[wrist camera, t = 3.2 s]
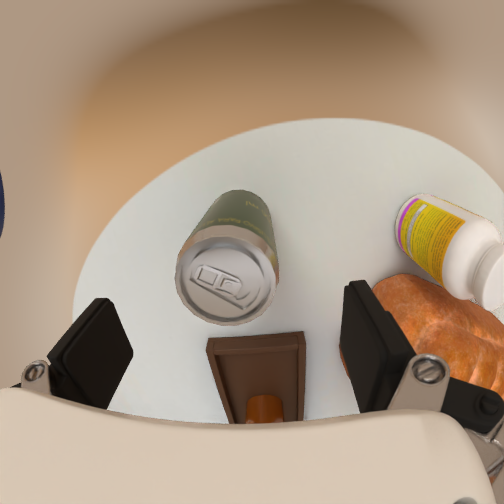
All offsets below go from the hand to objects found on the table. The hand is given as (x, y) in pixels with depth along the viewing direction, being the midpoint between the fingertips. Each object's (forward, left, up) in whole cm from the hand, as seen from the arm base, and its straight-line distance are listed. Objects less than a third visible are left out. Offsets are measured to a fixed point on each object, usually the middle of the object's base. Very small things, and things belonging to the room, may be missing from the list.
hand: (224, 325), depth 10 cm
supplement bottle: (+18, -2, -15) cm, 23 cm away
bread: (+22, -17, -15) cm, 32 cm away
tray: (0, -26, -15) cm, 30 cm away
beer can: (0, 0, -15) cm, 15 cm away
